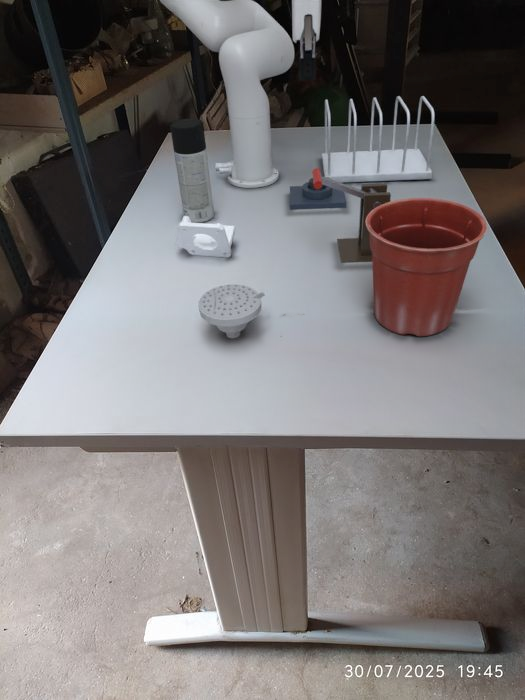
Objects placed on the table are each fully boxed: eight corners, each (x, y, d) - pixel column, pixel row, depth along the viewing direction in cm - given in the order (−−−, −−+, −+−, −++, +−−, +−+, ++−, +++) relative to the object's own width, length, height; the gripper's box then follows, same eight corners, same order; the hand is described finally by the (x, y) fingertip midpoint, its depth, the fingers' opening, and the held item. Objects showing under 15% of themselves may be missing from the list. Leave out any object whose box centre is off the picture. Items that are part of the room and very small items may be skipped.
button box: (290, 214, 117) (289, 196, 115) (289, 195, 125) (289, 178, 123) (345, 211, 117) (346, 194, 114) (341, 193, 125) (342, 176, 122)
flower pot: (352, 339, 82) (358, 244, 72) (365, 283, 94) (372, 194, 84) (466, 353, 78) (489, 254, 68) (465, 292, 90) (484, 200, 80)
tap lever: (311, 190, 91) (316, 177, 90) (310, 177, 96) (315, 164, 94) (381, 214, 94) (388, 202, 92) (377, 200, 98) (383, 188, 97)
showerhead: (267, 309, 76) (197, 316, 76) (269, 349, 81) (203, 356, 81) (261, 275, 84) (197, 281, 83) (264, 314, 88) (203, 319, 88)
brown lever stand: (340, 267, 99) (343, 201, 91) (336, 244, 106) (339, 180, 98) (407, 265, 98) (415, 198, 90) (398, 242, 105) (406, 177, 97)
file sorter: (418, 155, 141) (426, 91, 131) (431, 181, 127) (441, 111, 118) (321, 159, 143) (322, 96, 133) (324, 184, 129) (326, 116, 119)
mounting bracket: (176, 259, 108) (159, 224, 99) (184, 234, 111) (168, 197, 101) (233, 264, 105) (222, 228, 96) (240, 238, 108) (229, 201, 99)
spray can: (219, 213, 120) (209, 118, 107) (204, 226, 115) (192, 129, 103) (194, 209, 122) (181, 116, 110) (178, 221, 117) (162, 126, 105)
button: (309, 191, 117) (309, 183, 116) (308, 185, 120) (308, 177, 119) (325, 190, 117) (325, 183, 116) (324, 184, 120) (324, 176, 119)
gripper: (286, -35, 102) (288, 72, 113) (286, -29, 90) (288, 90, 101) (326, -38, 101) (324, 70, 113) (331, -32, 90) (328, 88, 101)
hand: (307, 79), depth 107 cm, fingers closed
